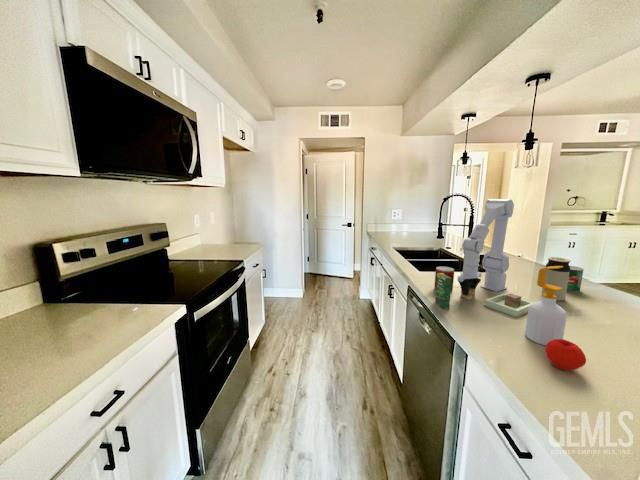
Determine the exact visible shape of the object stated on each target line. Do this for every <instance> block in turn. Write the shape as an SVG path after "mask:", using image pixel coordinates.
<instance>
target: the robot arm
mask: <svg viewBox="0 0 640 480" xmlns="http://www.w3.org/2000/svg"><path fill="white" fill-rule="evenodd" d="M514 206H515V204H514V201H513V199H511V198H508V199H507V198H504V199H503V198H502V199H501V198H494V199H493V198H488V199H487V200H486V202H485V203H484V211H485V212H484V213H483V215H482V219H481V221H480V223H479V224H477V225H475V227H474V228H473V230H472V231H471V234H470V235H469V236H468V237H467V238H465V239H464V240H463V243H462V251H463V255H464V257H463V266H462V271H461V272H460V275H459V276H457V279H456V280H457V282H458V284H459V285H460V290H462V295H465V296H467V295H468V293H469V288H473V289H477V287H478V285H479V284H480V282H481V281H482V280H481V277H482V272H480V271H479V265H480V264H479V263H480V254H481V252H482V251H483V250H484V247H485V246H484V245H485V239H486V238H487V236H488V234H489V233H490V229H489V227H490V226H491V224H492V222H493V221H494V220H495V221H494V227H493V233H492V239H491V247H490V251H487V252H486V253H484V256H483V259H482V261H481V262H482V268H484V270H485V276H484V284H482V285H480V286H479V287H480V288H483V289H487V290H490V291H494V292H500V291H503V290H506V289H508V287H506V283H507V273H506V272H507V271H508V270H509V269H510V268H509V267H510V261H509V260H510V257H509V255H507V253H505V252H504V248H505V247H504V246H505V241H506V235H507V229H508V221H509V218H512V217H513V213H514Z"/></svg>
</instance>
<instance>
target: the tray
mask: <svg viewBox="0 0 640 480" xmlns="http://www.w3.org/2000/svg"><path fill="white" fill-rule="evenodd" d="M505 295H507V294H506V293H500V294H498V295H495V296H493V297H489V298H487V299H484V305H483V306H485V307H487V308H489V309H492V310H496V311H498V312H501V313H504V314H506V315H509V316H512V317H515V318H518V317H520V316H523V315H525V314H528V309H529V306H530V305H531V304H532V303H533V302H532V301H528V300H525V299H522V298H521V303H520V306H518V307H516V308H514V307H511V306H508V305H505V304H504V303H505Z"/></svg>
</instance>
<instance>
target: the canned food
mask: <svg viewBox="0 0 640 480" xmlns="http://www.w3.org/2000/svg"><path fill="white" fill-rule="evenodd" d="M437 273H443V274H445V275H447V276H448V277H450V278H452V281H451V293H452V292H453V289H454V279H455V269H454V268H453V267H449V266H442V265H441V266H436V268H435V274H434V275H435V276H434V290H435V291H436V280H437Z"/></svg>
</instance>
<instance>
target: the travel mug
mask: <svg viewBox="0 0 640 480" xmlns="http://www.w3.org/2000/svg"><path fill="white" fill-rule="evenodd" d="M547 260H548V262H547V263H545V268H546V267H550V266H563V267H562V268H559V269H547V271H546V277H545V282H546V284H549V285H554V286H558V287H561V288H562V290H559V291H556V292H554V294H553V295H555V296H556V297H557V298H556V302H559V301H560V302H561V301H565V299H566V294H567V291H566V290H567V284H568V278H569V272H570V266H571V265H570V263H571V261H572V260H570V259H568V258H565V257H559V256H557V257H556V256H548V257H547ZM541 288H542V287H541ZM546 292H547V291H546V290H545V288H542V289H541V296H543V294H546Z"/></svg>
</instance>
